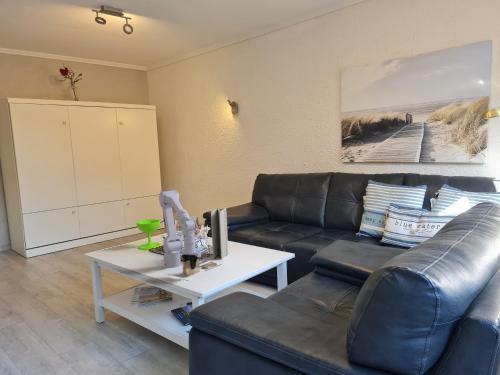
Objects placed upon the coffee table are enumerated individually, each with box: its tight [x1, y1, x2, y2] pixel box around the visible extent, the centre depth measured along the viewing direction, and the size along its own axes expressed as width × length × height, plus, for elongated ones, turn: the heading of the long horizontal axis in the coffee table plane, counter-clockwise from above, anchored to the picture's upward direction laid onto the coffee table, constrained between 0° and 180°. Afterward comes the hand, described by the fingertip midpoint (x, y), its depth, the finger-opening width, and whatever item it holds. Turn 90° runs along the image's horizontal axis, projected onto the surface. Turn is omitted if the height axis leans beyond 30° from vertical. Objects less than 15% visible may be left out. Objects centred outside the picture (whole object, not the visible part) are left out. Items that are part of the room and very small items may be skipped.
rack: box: [199, 260, 222, 272], centre depth 205 cm, size 12×15×2 cm
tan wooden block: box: [182, 258, 201, 278], centre depth 192 cm, size 3×9×7 cm, turn 142°
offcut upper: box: [201, 261, 218, 270], centre depth 204 cm, size 4×8×1 cm, turn 150°
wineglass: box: [136, 218, 163, 251], centre depth 254 cm, size 16×16×18 cm
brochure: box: [210, 207, 229, 260], centre depth 222 cm, size 14×6×30 cm, turn 168°
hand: (190, 268), depth 192 cm, fingers closed on tan wooden block, 3 cm apart
